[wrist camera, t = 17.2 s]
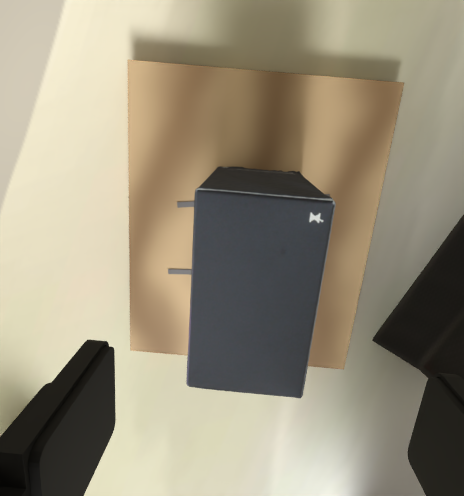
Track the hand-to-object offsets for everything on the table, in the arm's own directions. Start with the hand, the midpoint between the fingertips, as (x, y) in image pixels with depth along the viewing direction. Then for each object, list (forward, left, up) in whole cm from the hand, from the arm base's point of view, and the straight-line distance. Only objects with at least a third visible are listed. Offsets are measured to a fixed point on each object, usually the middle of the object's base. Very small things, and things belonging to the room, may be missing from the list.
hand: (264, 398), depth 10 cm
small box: (0, 0, -17) cm, 17 cm away
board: (0, 0, -18) cm, 18 cm away
